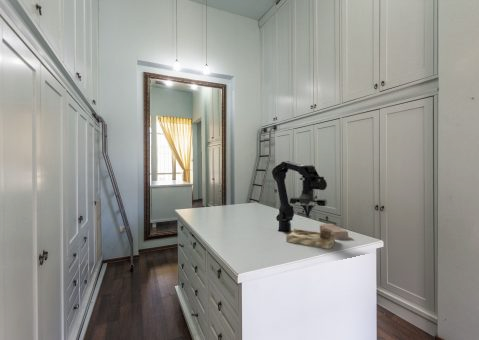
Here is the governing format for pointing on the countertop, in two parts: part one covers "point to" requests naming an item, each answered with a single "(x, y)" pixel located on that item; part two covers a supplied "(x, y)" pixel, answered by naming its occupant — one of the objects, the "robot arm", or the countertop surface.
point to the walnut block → (325, 233)
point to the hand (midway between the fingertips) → (308, 217)
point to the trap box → (310, 238)
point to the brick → (336, 231)
